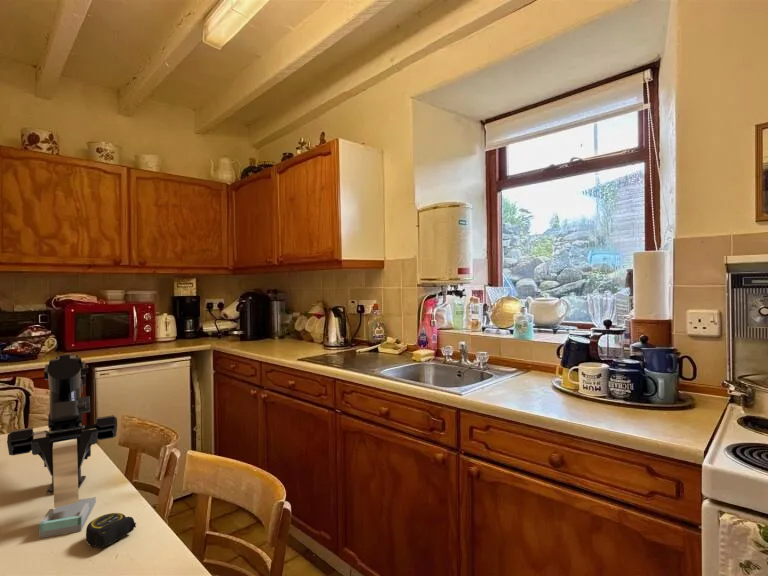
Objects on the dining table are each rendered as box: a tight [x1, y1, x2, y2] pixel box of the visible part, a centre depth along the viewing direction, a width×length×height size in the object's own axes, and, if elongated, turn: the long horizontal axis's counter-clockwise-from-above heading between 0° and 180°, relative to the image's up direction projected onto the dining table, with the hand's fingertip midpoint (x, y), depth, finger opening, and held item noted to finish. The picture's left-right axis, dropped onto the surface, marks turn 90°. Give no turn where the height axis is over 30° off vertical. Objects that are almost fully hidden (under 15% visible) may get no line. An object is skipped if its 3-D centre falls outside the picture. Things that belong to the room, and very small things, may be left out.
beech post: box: [53, 439, 80, 509], centre depth 90 cm, size 4×4×12 cm
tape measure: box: [85, 512, 137, 548], centre depth 83 cm, size 7×7×4 cm
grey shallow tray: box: [38, 496, 97, 539], centre depth 90 cm, size 12×7×3 cm, turn 22°
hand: (65, 471), depth 89 cm, fingers closed on beech post, 4 cm apart
